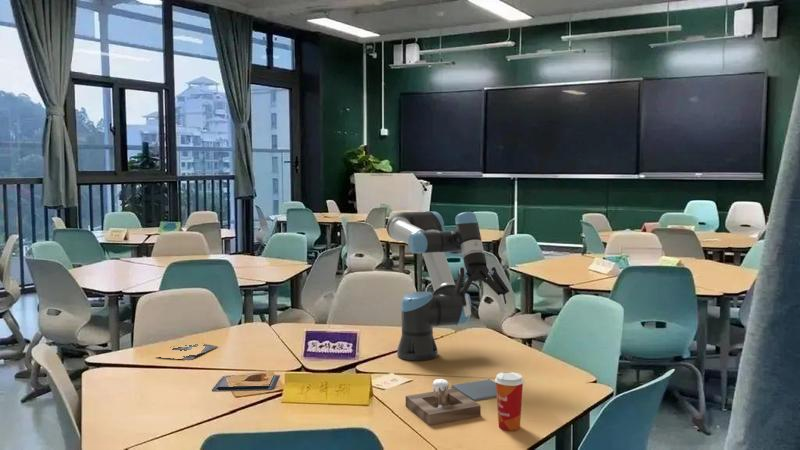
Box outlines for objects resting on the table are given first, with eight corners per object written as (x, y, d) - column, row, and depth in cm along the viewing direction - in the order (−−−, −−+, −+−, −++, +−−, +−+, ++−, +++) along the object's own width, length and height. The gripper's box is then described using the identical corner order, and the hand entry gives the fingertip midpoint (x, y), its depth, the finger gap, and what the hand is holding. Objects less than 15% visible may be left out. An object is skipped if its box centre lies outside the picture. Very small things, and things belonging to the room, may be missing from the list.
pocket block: (405, 405, 188) (405, 395, 187) (453, 397, 194) (453, 388, 194) (429, 425, 173) (429, 414, 173) (480, 415, 179) (480, 405, 179)
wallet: (209, 387, 202) (222, 372, 217) (210, 393, 202) (222, 378, 218) (273, 386, 202) (281, 371, 218) (273, 392, 203) (281, 377, 218)
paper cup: (491, 422, 175) (491, 372, 174) (519, 420, 175) (519, 371, 174) (498, 433, 167) (498, 381, 166) (527, 432, 168) (527, 380, 167)
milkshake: (450, 414, 181) (450, 379, 180) (431, 413, 182) (431, 378, 181) (452, 408, 185) (452, 374, 184) (434, 407, 186) (433, 373, 185)
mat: (451, 386, 204) (451, 385, 204) (489, 380, 209) (489, 379, 209) (473, 401, 191) (473, 399, 191) (513, 394, 196) (513, 392, 196)
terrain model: (190, 362, 236) (189, 354, 236) (155, 360, 241) (155, 351, 240) (221, 347, 256) (220, 340, 255) (188, 345, 260) (188, 337, 260)
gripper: (446, 251, 211) (458, 312, 203) (510, 251, 221) (524, 310, 213) (436, 259, 217) (448, 319, 209) (499, 259, 227) (512, 316, 219)
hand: (486, 315), depth 211 cm, fingers open, 13 cm apart
